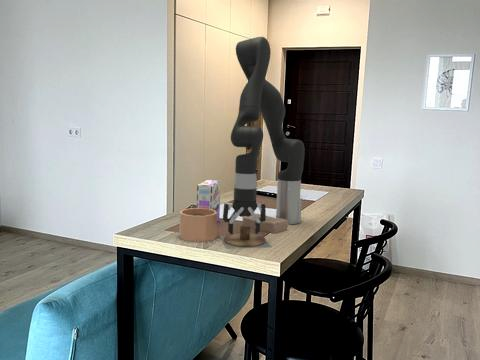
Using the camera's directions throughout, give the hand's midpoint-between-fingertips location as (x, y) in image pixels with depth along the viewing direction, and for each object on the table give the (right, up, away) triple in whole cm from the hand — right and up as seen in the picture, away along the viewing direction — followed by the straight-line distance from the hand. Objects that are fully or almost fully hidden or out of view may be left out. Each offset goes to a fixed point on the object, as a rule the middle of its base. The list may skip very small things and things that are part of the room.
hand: (243, 233), depth 157 cm
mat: (0, -3, +1) cm, 3 cm away
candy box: (-14, +1, +24) cm, 28 cm away
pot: (-16, -2, +5) cm, 17 cm away
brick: (+8, -1, +19) cm, 21 cm away
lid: (0, -3, 0) cm, 3 cm away
